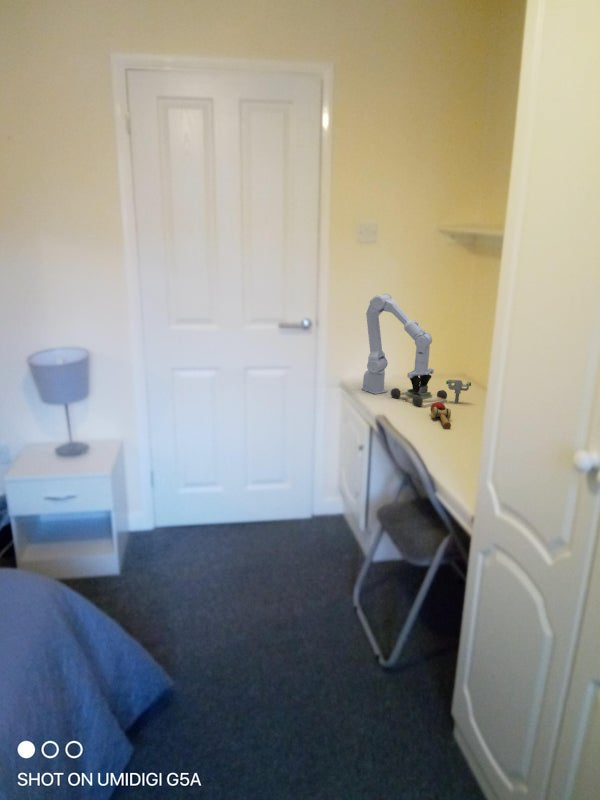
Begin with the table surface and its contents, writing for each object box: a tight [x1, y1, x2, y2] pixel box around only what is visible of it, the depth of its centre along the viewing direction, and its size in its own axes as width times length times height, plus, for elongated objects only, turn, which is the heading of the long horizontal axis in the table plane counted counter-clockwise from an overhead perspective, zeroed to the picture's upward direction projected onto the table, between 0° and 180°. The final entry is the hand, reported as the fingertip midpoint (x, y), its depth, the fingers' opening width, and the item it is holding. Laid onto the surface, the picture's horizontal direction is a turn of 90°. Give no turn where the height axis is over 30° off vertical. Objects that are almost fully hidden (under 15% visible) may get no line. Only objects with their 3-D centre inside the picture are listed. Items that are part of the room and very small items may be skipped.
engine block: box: [412, 383, 429, 396], centre depth 261 cm, size 5×4×5 cm
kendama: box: [430, 402, 452, 430], centre depth 235 cm, size 8×6×18 cm
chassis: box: [390, 387, 448, 409], centre depth 262 cm, size 20×17×4 cm
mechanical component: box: [445, 379, 472, 404], centre depth 257 cm, size 3×10×10 cm, turn 78°
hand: (419, 391), depth 262 cm, fingers closed on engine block, 4 cm apart
